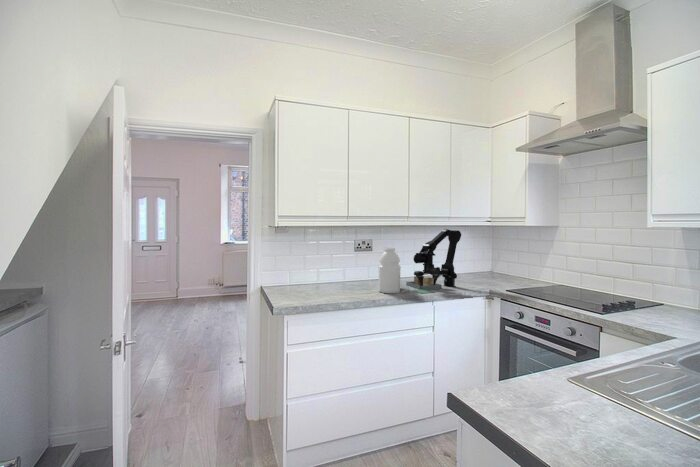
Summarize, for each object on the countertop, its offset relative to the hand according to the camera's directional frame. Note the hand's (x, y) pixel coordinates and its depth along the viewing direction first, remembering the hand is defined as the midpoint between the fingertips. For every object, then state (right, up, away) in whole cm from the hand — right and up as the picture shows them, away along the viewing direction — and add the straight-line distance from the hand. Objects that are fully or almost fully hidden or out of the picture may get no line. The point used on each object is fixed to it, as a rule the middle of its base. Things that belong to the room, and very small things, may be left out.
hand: (428, 285), depth 223 cm
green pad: (-6, -2, -12) cm, 13 cm away
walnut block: (-4, -1, +10) cm, 11 cm away
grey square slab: (-2, -2, +5) cm, 6 cm away
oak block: (0, -2, 0) cm, 2 cm away
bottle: (-27, -3, -8) cm, 28 cm away
